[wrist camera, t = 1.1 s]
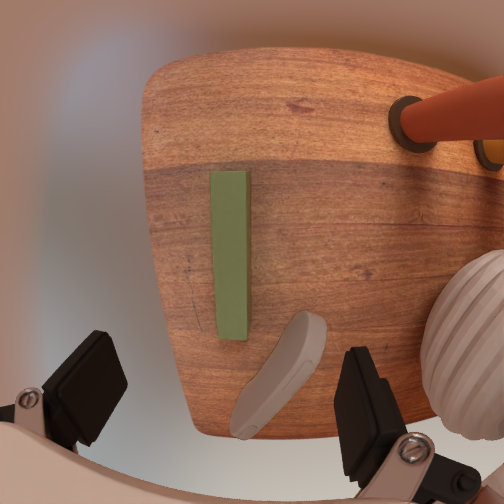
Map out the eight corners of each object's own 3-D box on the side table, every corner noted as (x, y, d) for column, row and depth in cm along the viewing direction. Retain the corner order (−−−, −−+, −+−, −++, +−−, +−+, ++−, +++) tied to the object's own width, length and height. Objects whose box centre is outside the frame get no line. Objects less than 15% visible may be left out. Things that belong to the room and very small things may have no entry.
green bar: (224, 318, 30) (217, 339, 26) (219, 170, 25) (209, 171, 21) (251, 320, 30) (247, 341, 26) (251, 170, 25) (246, 171, 21)
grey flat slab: (247, 405, 35) (241, 451, 27) (233, 400, 34) (224, 446, 27) (323, 304, 28) (337, 352, 20) (305, 295, 28) (314, 343, 20)
